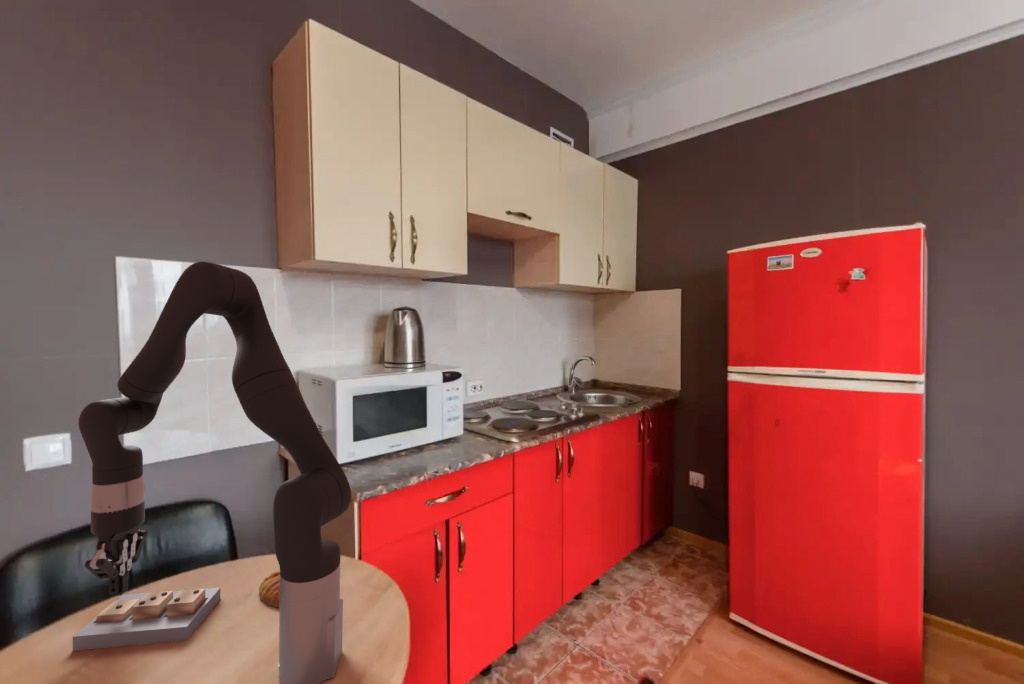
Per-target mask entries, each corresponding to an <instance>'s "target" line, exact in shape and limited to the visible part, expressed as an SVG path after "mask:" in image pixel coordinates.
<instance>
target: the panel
mask: <svg viewBox="0 0 1024 684" xmlns="http://www.w3.org/2000/svg"><path fill="white" fill-rule="evenodd" d="M204 589H205V602H204V603H203V604H202V605H201V606H200V607H199V609H198V610H197V611H196V612H195V613H194V614H193V615H185V616H173V617H167V610H166V611H165V612H164V613H163V614H162V615H161V616H160V617H159V618H149V619H137V620H132V614H131V615H130V616H129V617H128V618H127V619H126V620H125V621H114V622H102V623H97V616H96V617H95V618H94V619H92V620H91V621H90V622H89V623H88V624H86V625H85V626H84V627H83V628H81V629H80V630H79V631H78V632H76V634H74V635H73V636H72V651H85V650H96V649H104V648H105V649H106V648H115V647H116V648H117V647H128V646H140V645H148V644H149V645H150V644H159V643H160V644H161V643H168V642H169V643H170V642H182V641H188V640H189V638H190V637H191V635H192V634H194V632H195V631H196V630H197V628H198V627H199V626H200V625H201V624H202V622H203V621H204V620H205V618H206V617H207V616H208V615H209V614H210V612H212V610H213V609H214V608H215V607H216V605H217V604H218V603H219V601H220V600H221V587H212V588H209V587H208V588H204ZM172 591H173V598H174V597H175V596H176V595H177V594H178V593H179V592H180V591H181V590H172ZM147 593H148V592H144V593H133V594H131V593H130V594H122V596H121V595H120V597H119V598H117V599H116V600H115V601H120V600H133V599H140V600H141V599H142V598H143V597H144V596H145V595H146V594H147Z"/></svg>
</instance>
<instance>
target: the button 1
mask: <svg viewBox="0 0 1024 684" xmlns="http://www.w3.org/2000/svg"><path fill="white" fill-rule="evenodd" d="M138 601H140V599H133V600H120V601H116V600H114V601H113V602H111V603H110V604H109V605H108V606H107V607H105V608H104V609H103V610H102V611H100V612H99V613H98V614H97V615H96V617H97V623H102V622H114V621H125V620H126V619H127V618H128V617H129V616H130V615H131V614H132V607H133V606H134V605H135V604H136V603H137V602H138Z"/></svg>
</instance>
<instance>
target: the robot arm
mask: <svg viewBox="0 0 1024 684" xmlns="http://www.w3.org/2000/svg"><path fill="white" fill-rule="evenodd" d="M204 314H207V315H213V316H220V317H223V318H224V319H225V320H226V322H227V324H228V326H229V327H230V329H231V332H232V334H233V336H234V339H235V342H236V343H235V344H236V353H235V357H234V361H233V366H232V371H231V383H232V387H233V389H234V392H235V394H236V397H237V399H238V401H239V404H240V406H241V409H242V410H243V412H244V414H245V416H246V417H247V419H248V420H249V421H250V422H251V423H252V424H253V425H254V426H255V427H256V428H258V429H259V431H262V432H263V433H264V434H265V435H267V436H268V437H270V438H271V439H273V441H275V442H276V443H277V444H279V445H280V446H281V447H283V448H284V449H285V450H286V451H287V453H288V454H289V455H290V457H291V458H292V460H293V461H294V463H295V464H296V466H297V468H298V471H299V472H300V473H299V475H297V476H295V477H291V478H290V479H288V480H286V481H284V482H283V483H282V484H280V486H279V487H278V488H277V490H276V492H275V495H274V499H273V505H272V507H273V508H272V516H273V519H272V520H273V521H272V522H273V536H274V537H273V538H274V551H275V557H276V559H277V563H278V565H279V572H280V605H279V607H278V608H279V609H278V610H279V618H278V619H279V621H278V623H279V627H278V631H279V632H278V679H279V682H280V684H320V683H322V682H324V681H326V680H329V679H334V678H335V677H336V673H337V669H338V666H339V663H340V661H341V656H342V653H343V621H344V620H343V619H344V617H343V614H344V613H343V612H344V610H343V609H344V605H343V604H344V602H343V601H344V600H343V599H341V547H340V545H339V544H338V543H337V542H336V541H334V540H332V539H328V538H327V539H326V538H322V531H321V530H322V529H321V528H322V527H323V526H325V525H326V524H328V523H330V522H331V521H333V520H335V519H337V518H339V517H341V515H343V514H344V513H345V512H347V510H348V509H349V508H350V505H351V501H352V489H351V485H350V483H349V480H348V477H347V475H346V473H345V471H344V470H343V467H341V465H340V463H339V461H338V459H337V457H336V456H335V455H334V453H333V452H332V450H331V448H330V447H329V445H328V443H327V442H326V440H325V439H324V437H323V435H322V433H321V431H320V429H319V428H318V426H317V423H316V422H315V420H314V417H313V416H312V413H311V412H310V410H309V408H308V405H307V403H306V402H305V399H304V397H303V395H302V393H301V390H300V387H299V386H298V384H297V381H296V379H295V377H294V375H293V373H292V371H291V369H290V367H289V365H288V363H287V361H286V360H285V359H286V358H285V357H284V355H283V352H282V350H281V348H280V346H279V343H278V341H277V339H276V337H275V335H274V333H273V330H272V327H271V325H270V322H269V320H268V316H267V314H266V310H265V307H264V305H263V301H262V298H261V295H260V292H259V289H258V288H257V285H256V283H255V281H254V280H253V279H252V277H251V276H249V274H247V273H246V272H244V271H242V270H239V269H237V268H232V267H230V266H227V265H226V266H225V265H223V264H218V263H214V262H210V261H206V260H205V261H197V262H193V263H192V264H190V265H188V266H187V267H186V268H185V269H184V270H183V272H182V273H181V275H180V276H179V277H178V279H177V280H176V282H175V285H174V286H173V288H172V290H171V292H170V294H169V297H168V299H167V301H166V303H165V305H164V306H163V308H162V310H161V312H160V315H159V317H158V319H157V321H156V322H155V326H154V328H153V330H152V331H151V333H150V335H149V337H148V339H147V340H146V342H145V344H144V345H143V347H142V348H141V349H140V351H138V354H137V355H136V356H135V358H134V359H133V360H132V361H131V363H130V364H129V365H128V367H127V368H126V369H125V370H124V372H123V373H122V374H121V376H120V378H119V379H118V381H117V389H118V391H119V393H120V394H122V395H123V396H122V397H116V398H108V399H107V398H106V399H101V400H99V399H98V400H96V401H93V402H90V403H89V404H86V406H85V407H84V408H83V409H82V411H81V412H80V415H79V417H78V430H79V432H80V434H81V437H82V439H83V441H84V445H85V446H86V450H87V453H88V454H89V457H90V460H91V463H92V468H91V471H92V473H91V474H92V475H91V476H92V481H91V482H92V483H91V484H92V486H91V492H90V533H91V534H92V535H95V536H96V537H97V538H98V539H97V543H96V546H95V549H96V551H97V552H96V553H95V555H94V557H93V558H92V559H87V560H86V561H85V564H84V567H85V569H87V571H88V570H89V571H90V572H91V573H92V574H93V575H94V576H95V577H96V578H98V579H99V580H102V579H108V593H109V595H110V596H112V597H115V596H121V595H124V593H125V592H127V591H128V589H129V583H130V582H129V577H130V576H129V572H130V570H131V569H132V566H133V564H134V563H135V564H136V563H137V561H138V560H139V557H140V554H141V552H142V550H143V547H144V544H145V541H146V539H147V536H148V535H149V534H148V533H149V530H143V529H141V530H140V526H141V525H142V524H143V523H144V522H145V519H146V513H145V512H146V508H145V507H146V497H145V494H146V492H145V490H146V489H145V480H144V468H143V467H144V462H143V461H144V460H143V459H144V458H143V457H144V455H143V449H142V448H141V447H139V446H137V445H122V442H121V440H120V438H119V436H121V435H122V436H123V435H126V434H130V433H134V432H135V433H136V432H138V431H140V430H143V429H144V428H146V427H147V426H149V425H150V424H151V423H152V421H153V420H155V418H156V416H157V413H158V410H159V407H160V405H161V402H162V398H163V395H164V393H165V392H166V390H167V389H169V387H170V386H171V384H172V383H173V382H174V381H175V380H176V378H177V377H178V375H179V374H180V372H181V371H182V369H183V367H184V364H185V363H186V362H185V361H186V357H187V354H186V353H187V347H186V346H187V344H186V343H187V336H188V333H189V331H190V329H191V327H192V326H193V325H194V324H195V323H196V321H198V319H199V318H201V317H202V316H203V315H204Z"/></svg>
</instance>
